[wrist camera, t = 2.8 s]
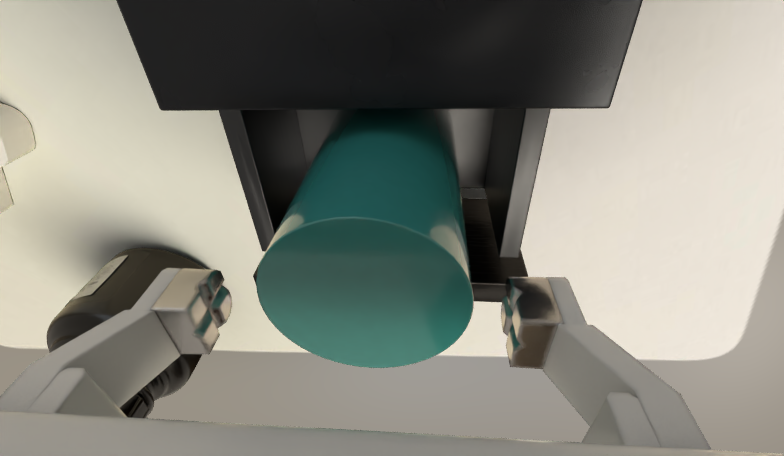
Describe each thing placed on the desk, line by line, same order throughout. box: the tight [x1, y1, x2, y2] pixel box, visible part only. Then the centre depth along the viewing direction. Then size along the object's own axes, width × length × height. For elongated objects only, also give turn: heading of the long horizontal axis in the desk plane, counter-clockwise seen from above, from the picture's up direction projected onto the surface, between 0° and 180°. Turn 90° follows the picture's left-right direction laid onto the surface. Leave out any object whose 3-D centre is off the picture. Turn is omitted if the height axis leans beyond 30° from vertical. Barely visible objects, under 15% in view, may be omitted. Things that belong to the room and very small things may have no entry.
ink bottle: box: [47, 248, 204, 419], centre depth 26 cm, size 10×9×12 cm
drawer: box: [219, 109, 550, 302], centre depth 17 cm, size 19×12×7 cm, turn 2°
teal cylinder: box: [256, 109, 474, 368], centre depth 15 cm, size 6×6×11 cm
